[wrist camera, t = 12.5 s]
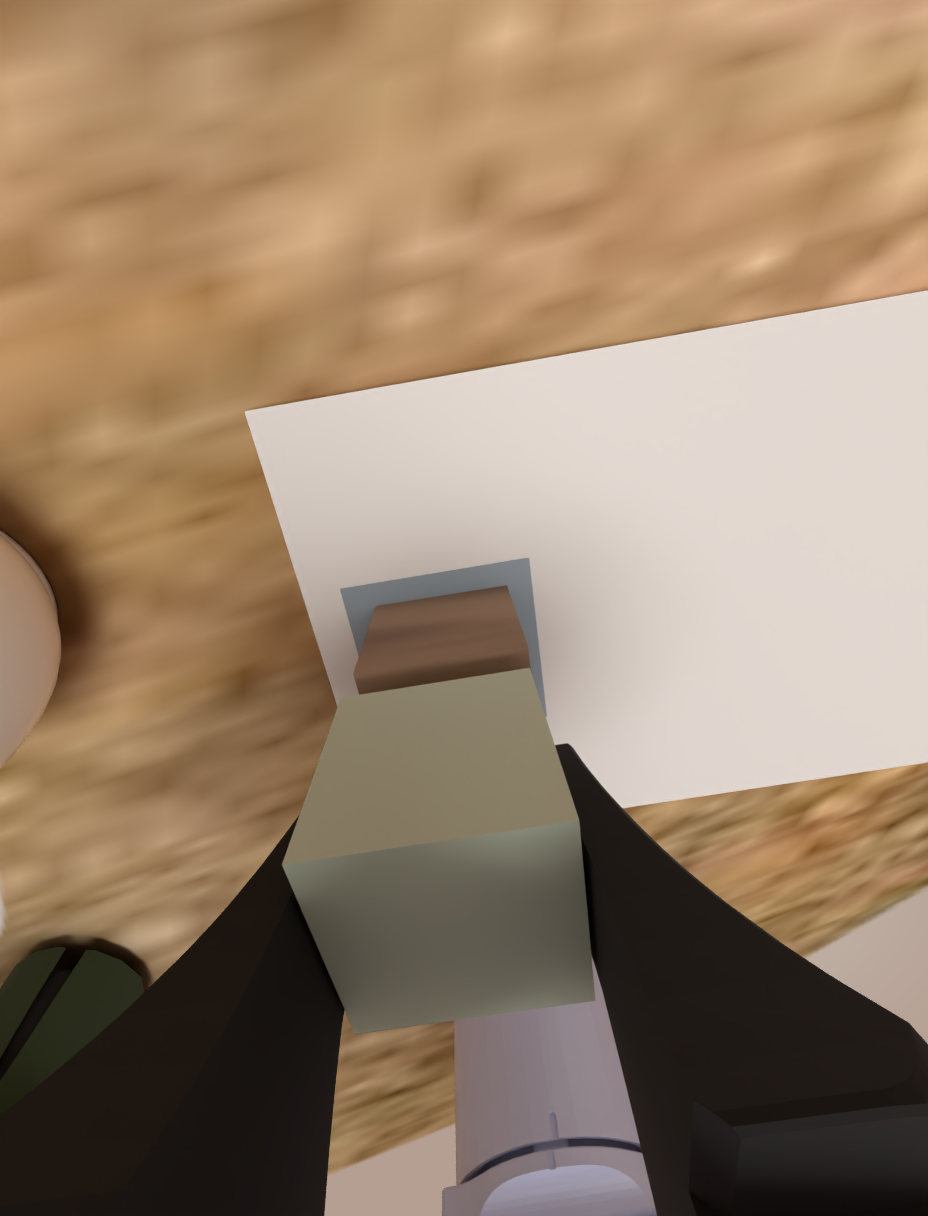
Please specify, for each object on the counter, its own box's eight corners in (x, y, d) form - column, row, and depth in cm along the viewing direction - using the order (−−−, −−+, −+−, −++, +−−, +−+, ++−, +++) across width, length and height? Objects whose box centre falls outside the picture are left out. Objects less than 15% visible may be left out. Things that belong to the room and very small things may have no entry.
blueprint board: (932, 749, 21) (947, 760, 20) (382, 833, 21) (380, 845, 21) (1064, 267, 14) (1092, 261, 13) (251, 410, 15) (243, 411, 14)
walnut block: (521, 696, 18) (543, 783, 14) (402, 714, 18) (390, 805, 14) (506, 585, 16) (528, 646, 12) (375, 605, 16) (353, 673, 12)
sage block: (547, 811, 13) (595, 1000, 9) (383, 835, 13) (355, 1034, 9) (529, 667, 11) (579, 820, 7) (340, 697, 11) (282, 865, 7)
